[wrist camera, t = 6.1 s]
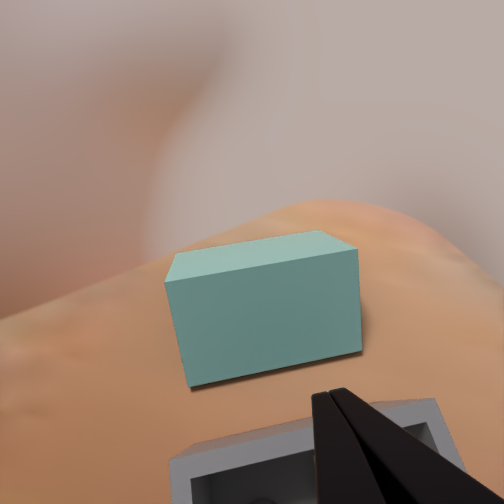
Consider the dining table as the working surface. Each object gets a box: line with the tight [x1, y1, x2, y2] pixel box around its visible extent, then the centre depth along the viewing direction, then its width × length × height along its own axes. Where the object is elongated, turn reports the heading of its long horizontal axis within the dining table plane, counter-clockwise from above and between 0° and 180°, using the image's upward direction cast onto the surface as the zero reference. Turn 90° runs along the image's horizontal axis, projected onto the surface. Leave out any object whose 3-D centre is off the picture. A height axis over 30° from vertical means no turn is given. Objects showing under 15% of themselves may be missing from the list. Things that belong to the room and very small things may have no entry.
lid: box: [164, 230, 362, 387], centre depth 17 cm, size 6×9×5 cm
